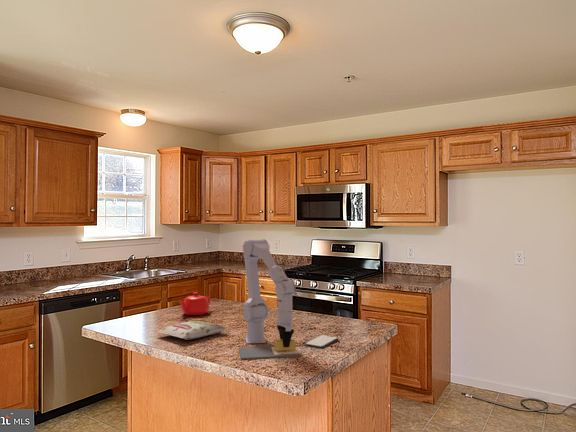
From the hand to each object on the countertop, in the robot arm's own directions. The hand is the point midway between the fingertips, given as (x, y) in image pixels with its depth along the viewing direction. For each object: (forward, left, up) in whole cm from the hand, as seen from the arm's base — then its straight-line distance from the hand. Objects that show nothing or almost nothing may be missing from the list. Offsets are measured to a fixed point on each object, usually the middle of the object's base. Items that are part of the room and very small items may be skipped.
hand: (285, 345), depth 168 cm
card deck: (0, 0, -1) cm, 1 cm away
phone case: (-10, +18, -3) cm, 21 cm away
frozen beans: (-31, -37, -3) cm, 48 cm away
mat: (0, -6, -3) cm, 7 cm away
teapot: (-77, -38, -3) cm, 86 cm away
